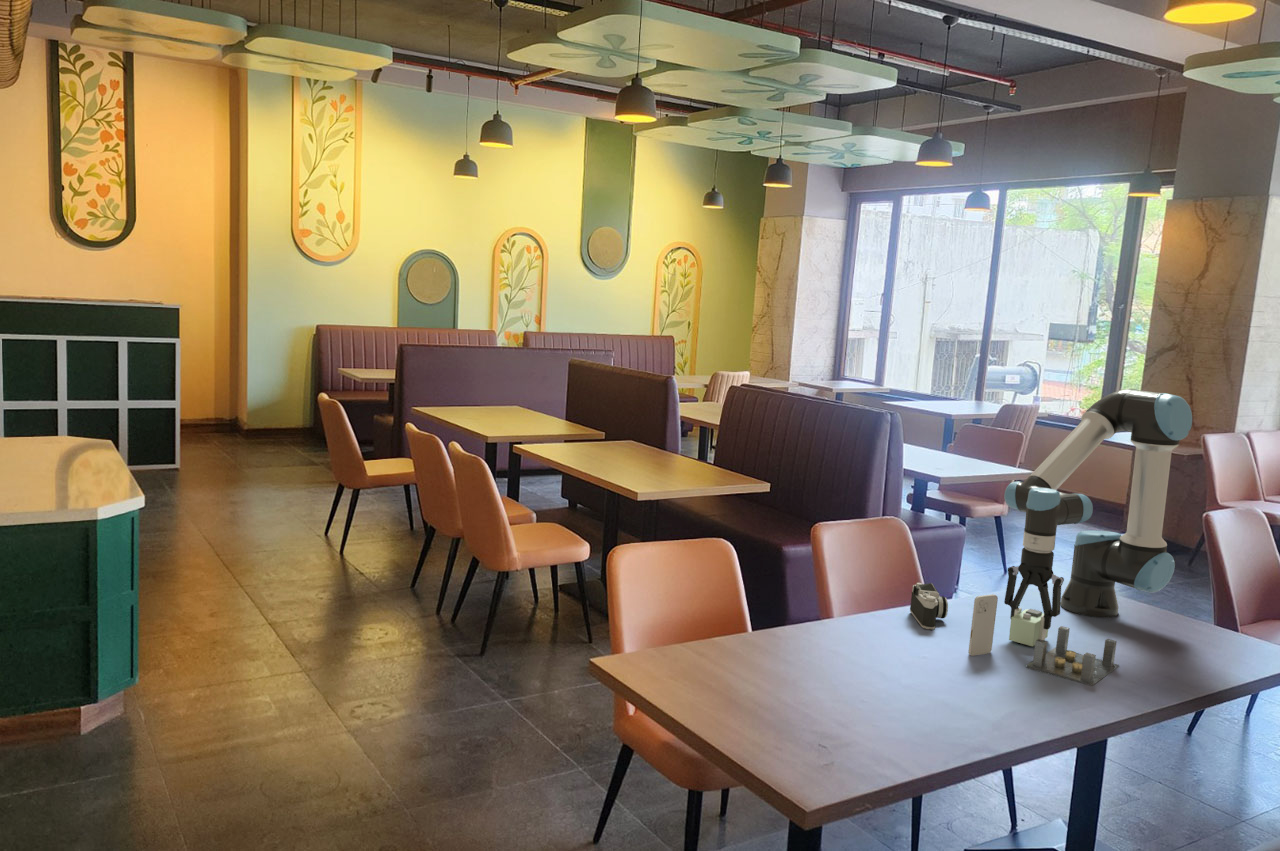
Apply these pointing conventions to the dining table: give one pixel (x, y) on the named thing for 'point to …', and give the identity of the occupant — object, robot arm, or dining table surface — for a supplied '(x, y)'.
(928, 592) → the camera
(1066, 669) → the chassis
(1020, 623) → the block
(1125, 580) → the robot arm
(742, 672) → the dining table surface
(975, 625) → the smartphone
